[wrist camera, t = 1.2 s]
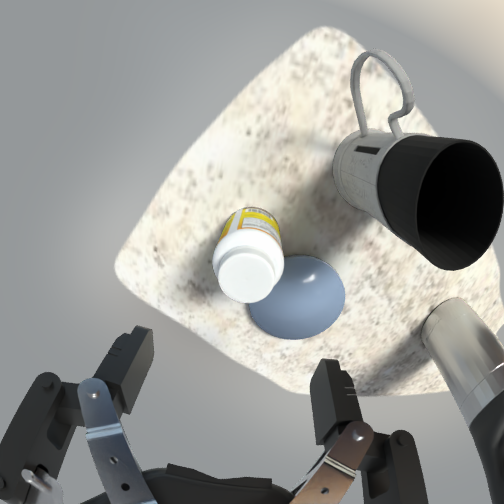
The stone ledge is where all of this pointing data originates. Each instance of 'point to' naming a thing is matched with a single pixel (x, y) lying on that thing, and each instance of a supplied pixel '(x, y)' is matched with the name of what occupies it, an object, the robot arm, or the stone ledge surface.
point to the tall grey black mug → (420, 181)
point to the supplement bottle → (249, 255)
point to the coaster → (301, 299)
